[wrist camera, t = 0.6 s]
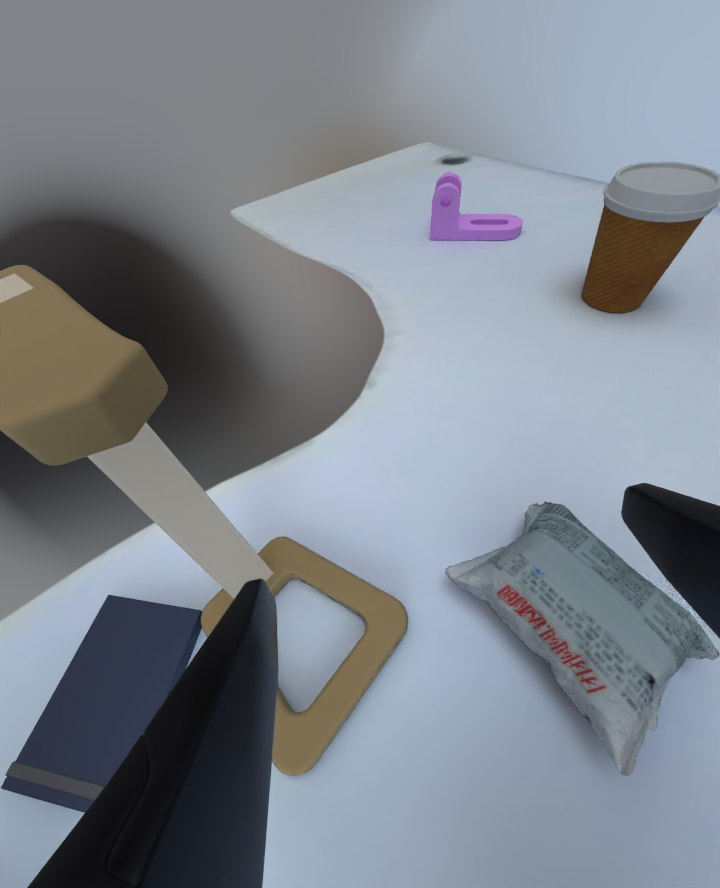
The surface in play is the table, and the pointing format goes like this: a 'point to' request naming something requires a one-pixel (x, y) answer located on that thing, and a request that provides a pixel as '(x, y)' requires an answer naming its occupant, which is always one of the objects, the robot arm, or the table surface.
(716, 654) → the packaged food
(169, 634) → the notepad
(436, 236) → the bracket
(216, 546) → the headphone stand
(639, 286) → the disposable coffee cup
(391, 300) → the table surface
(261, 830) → the robot arm
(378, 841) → the table surface
